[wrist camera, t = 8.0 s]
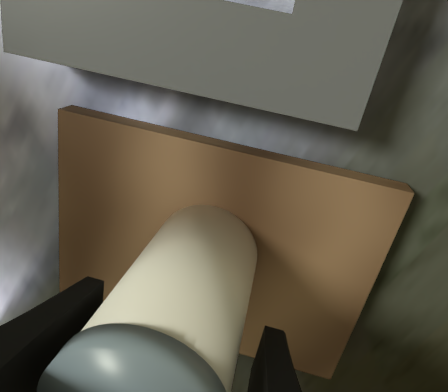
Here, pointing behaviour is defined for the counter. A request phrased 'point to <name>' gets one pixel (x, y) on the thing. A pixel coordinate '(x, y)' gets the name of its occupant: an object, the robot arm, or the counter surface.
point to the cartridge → (168, 314)
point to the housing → (218, 48)
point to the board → (239, 206)
